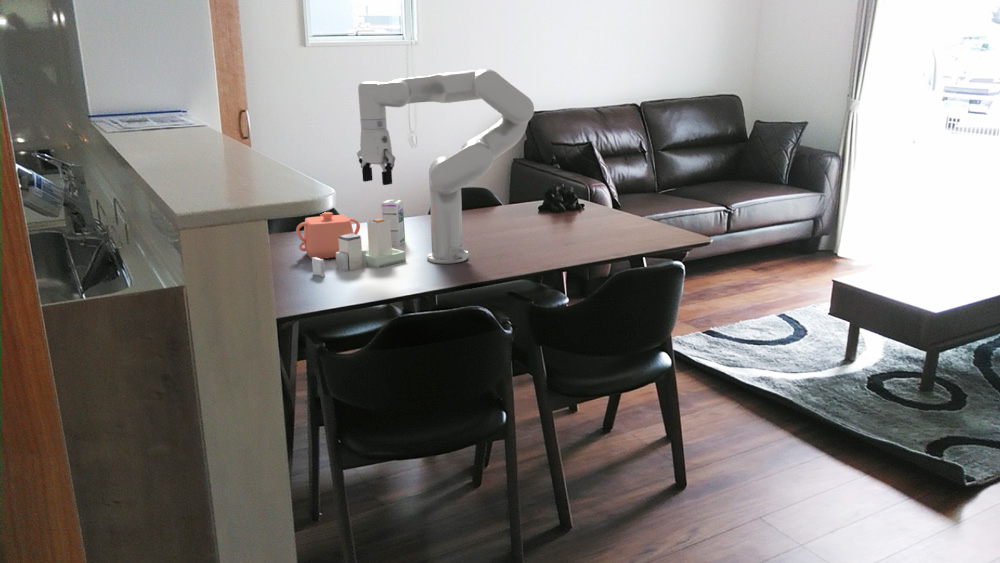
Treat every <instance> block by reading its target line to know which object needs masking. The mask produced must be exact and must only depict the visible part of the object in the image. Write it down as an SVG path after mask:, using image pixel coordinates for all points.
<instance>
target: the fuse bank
mask: <svg viewBox="0 0 1000 563" xmlns="http://www.w3.org/2000/svg"><path fill="white" fill-rule="evenodd" d="M353 233H354V232H353ZM353 233H350V234H345V235H340V236H339V238H338V241H339V252H336V257H335V263H336V264H335V265H336V269H337V270H340V271H343V272H348V271H349V272H350V271H354V270H357V269H363V268H365V267H367V265H366V251H365V250H366V249H363V248H362V247H363V246H362V238H361V235H359V234H357V235H356V234H353ZM311 264H312V275H314V276H316V277H320V278H323V277H326V273H325V271H326V270H325V259H320V258H317V257H313V258H312V259H311Z"/></svg>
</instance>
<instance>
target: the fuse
mask: <svg viewBox="0 0 1000 563" xmlns="http://www.w3.org/2000/svg"><path fill="white" fill-rule="evenodd" d="M366 225H367V240H368V242H367V243H368V249H369V255H371V256H374V257H381V256H385V255H390V254H392V248H393V247H392V246H393V245H392V244H391V225H390V221H389V220H385V219H382V217H381V218H375V219H374V218H373V219H371V220H367V221H366Z"/></svg>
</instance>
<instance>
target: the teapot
mask: <svg viewBox="0 0 1000 563" xmlns="http://www.w3.org/2000/svg"><path fill="white" fill-rule="evenodd" d="M352 222H353V223H355V224H356V228H355V230H353V225H352V224H353V223H352ZM302 227H304V228H303V235H302V233H301V232H300V231H301V230H300V229H301V228H302ZM360 229H361V224H360V222H359V221H358V220H357V219H356V218H351V217H347V215H345V214H336V215H335V214H334V213H333V212H330V211H327V212H326V211H325V212H324V213H322V214H320V213H319V216H311V217H310V216H309V217H305V219H304V221H303V222H300V223H299V224H298V225H297V226H296V229H295V232H296V235H297V237H298V239H299V240H300V241H301V243H299V245H298V249H299V251H301V252H306V254H307V256H308V257H309V258H310V259H311V260H312V258H313V257H317V258H320V259H323V260H326V259H331V258H336V252H339V241H338V238H339V236H340V235H345V234H350V233H353V234H356V235H359V234H358V233H359V232H360ZM303 246H304V247H303Z"/></svg>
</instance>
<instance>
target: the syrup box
mask: <svg viewBox="0 0 1000 563" xmlns="http://www.w3.org/2000/svg"><path fill="white" fill-rule="evenodd" d="M380 205H381V206H380V207H381V219H385V220H389V221H390V225H391V244H392V246H394V245H400V246H401V245H402V244H403V243H405V242H406V234H405V217H404V202H403V199H386V200H385V201H383V202H381V203H380Z"/></svg>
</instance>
